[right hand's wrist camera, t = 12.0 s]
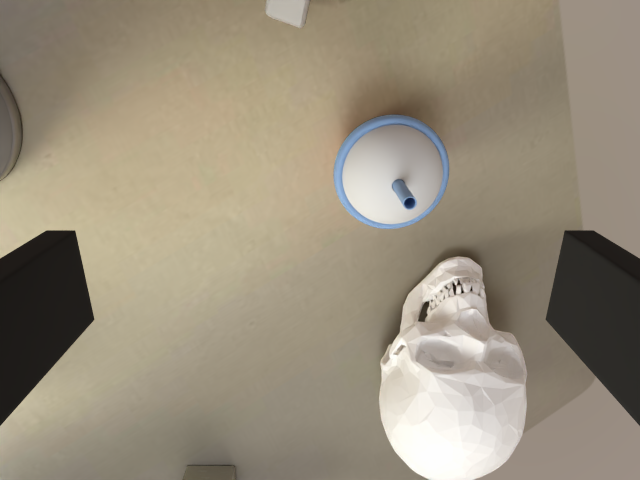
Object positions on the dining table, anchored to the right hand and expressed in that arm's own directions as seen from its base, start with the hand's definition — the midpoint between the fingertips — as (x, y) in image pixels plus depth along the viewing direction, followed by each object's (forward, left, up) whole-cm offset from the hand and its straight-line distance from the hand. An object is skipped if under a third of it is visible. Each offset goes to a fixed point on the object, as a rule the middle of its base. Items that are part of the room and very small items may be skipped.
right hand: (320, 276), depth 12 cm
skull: (-20, -19, -34) cm, 44 cm away
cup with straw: (-1, -6, -34) cm, 34 cm away
